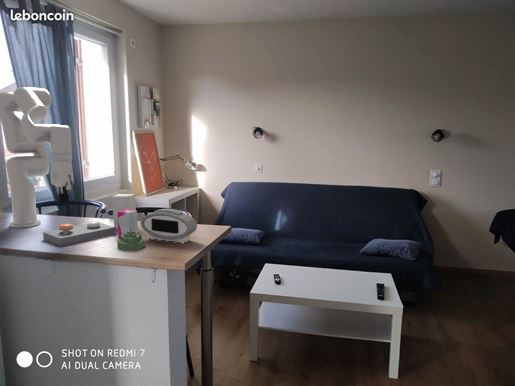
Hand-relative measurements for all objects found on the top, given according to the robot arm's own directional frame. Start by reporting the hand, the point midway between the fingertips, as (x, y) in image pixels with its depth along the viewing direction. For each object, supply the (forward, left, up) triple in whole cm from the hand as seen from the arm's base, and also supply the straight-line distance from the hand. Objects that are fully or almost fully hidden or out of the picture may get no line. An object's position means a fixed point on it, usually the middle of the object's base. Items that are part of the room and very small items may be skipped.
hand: (63, 202), depth 166 cm
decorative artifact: (+28, +12, -16) cm, 34 cm away
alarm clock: (+31, +27, -15) cm, 44 cm away
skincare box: (+2, +26, -15) cm, 30 cm away
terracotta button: (0, 0, -14) cm, 14 cm away
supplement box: (+16, +18, -15) cm, 29 cm away
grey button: (0, +12, -15) cm, 19 cm away
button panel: (0, +6, -15) cm, 16 cm away
